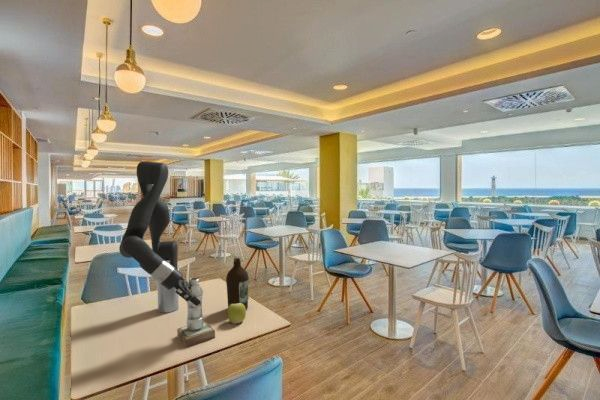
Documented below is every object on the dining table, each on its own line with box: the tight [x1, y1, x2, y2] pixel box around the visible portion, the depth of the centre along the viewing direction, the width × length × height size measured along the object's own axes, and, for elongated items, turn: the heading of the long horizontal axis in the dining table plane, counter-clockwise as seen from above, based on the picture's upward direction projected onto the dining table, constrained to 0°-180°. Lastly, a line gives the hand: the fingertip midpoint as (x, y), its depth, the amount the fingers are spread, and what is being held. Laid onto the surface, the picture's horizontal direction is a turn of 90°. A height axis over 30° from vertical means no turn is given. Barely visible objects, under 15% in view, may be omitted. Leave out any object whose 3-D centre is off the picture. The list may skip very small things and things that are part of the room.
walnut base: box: [176, 320, 216, 348], centre depth 123 cm, size 11×11×3 cm
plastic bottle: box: [186, 277, 205, 330], centre depth 122 cm, size 6×7×20 cm
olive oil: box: [225, 256, 250, 311], centre depth 149 cm, size 11×11×25 cm
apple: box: [226, 301, 247, 325], centre depth 136 cm, size 8×8×10 cm
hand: (198, 300), depth 122 cm, fingers open, 8 cm apart
